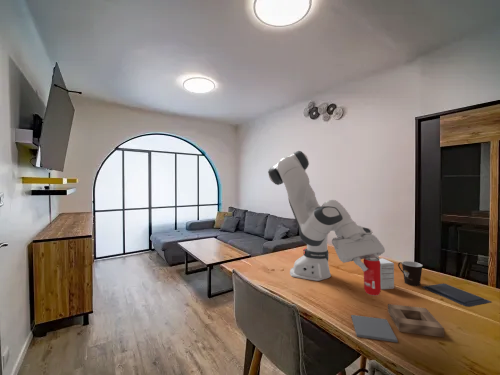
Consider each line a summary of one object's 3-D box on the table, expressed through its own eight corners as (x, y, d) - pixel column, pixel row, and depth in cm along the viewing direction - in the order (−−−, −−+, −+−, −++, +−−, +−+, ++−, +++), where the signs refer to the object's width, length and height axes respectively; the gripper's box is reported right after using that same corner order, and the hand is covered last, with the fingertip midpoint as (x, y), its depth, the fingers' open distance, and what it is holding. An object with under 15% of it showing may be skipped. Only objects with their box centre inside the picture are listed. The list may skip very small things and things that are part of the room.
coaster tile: (356, 336, 78) (356, 334, 78) (351, 316, 90) (351, 314, 90) (397, 342, 75) (397, 340, 75) (386, 321, 86) (386, 319, 86)
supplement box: (370, 283, 120) (370, 258, 119) (384, 282, 120) (384, 258, 120) (380, 289, 112) (380, 263, 112) (394, 288, 113) (394, 262, 113)
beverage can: (361, 289, 84) (360, 256, 84) (374, 289, 85) (374, 256, 85) (369, 296, 79) (369, 261, 79) (384, 295, 80) (383, 260, 80)
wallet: (420, 284, 115) (444, 281, 118) (420, 288, 115) (444, 284, 118) (466, 304, 95) (493, 299, 99) (466, 309, 95) (493, 304, 99)
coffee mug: (426, 287, 113) (426, 267, 113) (406, 286, 115) (406, 266, 115) (414, 278, 125) (414, 259, 125) (396, 277, 127) (396, 259, 126)
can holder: (399, 331, 80) (399, 322, 80) (387, 311, 93) (387, 304, 93) (444, 337, 77) (444, 328, 77) (425, 315, 89) (425, 308, 89)
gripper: (334, 233, 84) (357, 269, 75) (373, 228, 92) (398, 260, 84) (325, 243, 88) (346, 278, 79) (363, 237, 96) (386, 268, 88)
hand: (373, 268), depth 81 cm, fingers closed on beverage can, 5 cm apart
